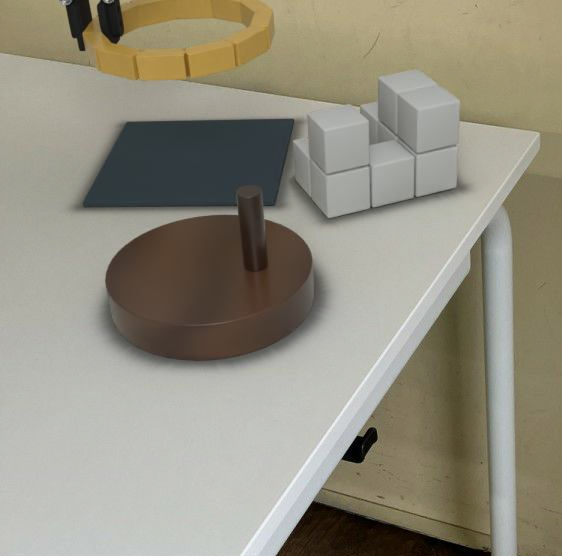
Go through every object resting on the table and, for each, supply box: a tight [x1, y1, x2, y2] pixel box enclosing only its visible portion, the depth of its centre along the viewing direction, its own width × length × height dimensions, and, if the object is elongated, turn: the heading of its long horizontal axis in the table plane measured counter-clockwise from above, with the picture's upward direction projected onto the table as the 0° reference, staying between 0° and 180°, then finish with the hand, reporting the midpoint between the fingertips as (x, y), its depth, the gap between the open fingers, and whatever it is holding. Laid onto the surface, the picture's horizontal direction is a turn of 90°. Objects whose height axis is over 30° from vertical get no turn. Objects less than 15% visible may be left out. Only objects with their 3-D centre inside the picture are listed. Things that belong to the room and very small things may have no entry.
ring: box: [83, 0, 276, 82], centre depth 87 cm, size 16×16×2 cm
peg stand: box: [104, 185, 315, 361], centre depth 73 cm, size 15×15×9 cm
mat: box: [82, 118, 295, 208], centre depth 94 cm, size 17×17×1 cm
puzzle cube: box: [292, 68, 461, 219], centre depth 87 cm, size 12×12×8 cm
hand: (100, 43), depth 88 cm, fingers closed on ring, 1 cm apart
